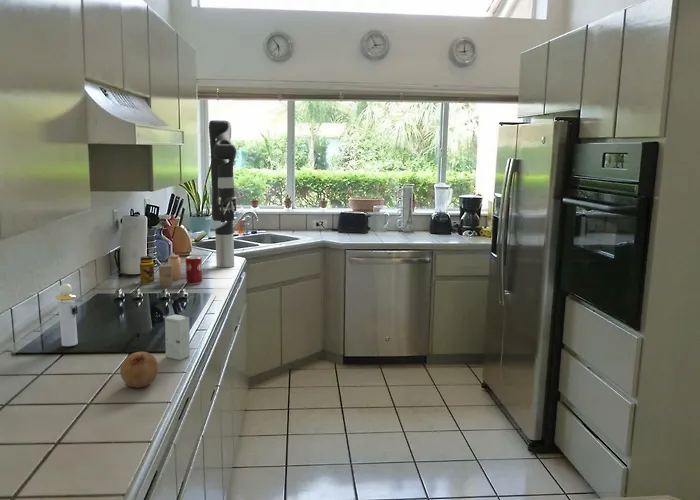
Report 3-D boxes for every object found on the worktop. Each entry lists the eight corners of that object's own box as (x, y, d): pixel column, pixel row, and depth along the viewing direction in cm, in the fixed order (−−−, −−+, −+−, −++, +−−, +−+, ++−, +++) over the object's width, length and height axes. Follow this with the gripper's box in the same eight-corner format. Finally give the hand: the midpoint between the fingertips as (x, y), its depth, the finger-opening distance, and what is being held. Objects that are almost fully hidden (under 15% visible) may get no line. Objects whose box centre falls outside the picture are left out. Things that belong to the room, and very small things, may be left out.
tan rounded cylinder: (171, 277, 290) (170, 254, 288) (183, 277, 290) (182, 254, 288) (167, 280, 285) (166, 256, 283) (179, 280, 284) (177, 256, 282)
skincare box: (165, 357, 179) (163, 317, 177) (176, 352, 183) (174, 313, 181) (180, 360, 176) (178, 320, 174) (191, 356, 180) (189, 316, 178)
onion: (144, 401, 155) (142, 374, 149) (113, 387, 157) (110, 360, 151) (166, 376, 162) (165, 349, 157) (136, 364, 164) (134, 337, 159)
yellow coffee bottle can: (151, 284, 276) (150, 258, 274) (133, 283, 277) (132, 257, 275) (158, 280, 283) (156, 255, 281) (140, 280, 284) (139, 255, 282)
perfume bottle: (57, 349, 185) (52, 286, 182) (62, 343, 191) (57, 281, 187) (77, 348, 186) (72, 285, 183) (81, 342, 192) (77, 281, 189)
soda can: (186, 285, 274) (185, 259, 272) (186, 281, 281) (185, 256, 279) (202, 284, 276) (201, 258, 274) (202, 280, 283) (201, 255, 281)
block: (161, 284, 275) (160, 265, 274) (172, 284, 276) (171, 264, 275) (160, 286, 270) (159, 267, 269) (171, 286, 271) (170, 266, 270)
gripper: (226, 186, 292) (227, 220, 294) (211, 187, 279) (212, 222, 281) (240, 186, 290) (241, 220, 292) (225, 187, 276) (227, 222, 279)
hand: (227, 221), depth 286 cm, fingers open, 8 cm apart
